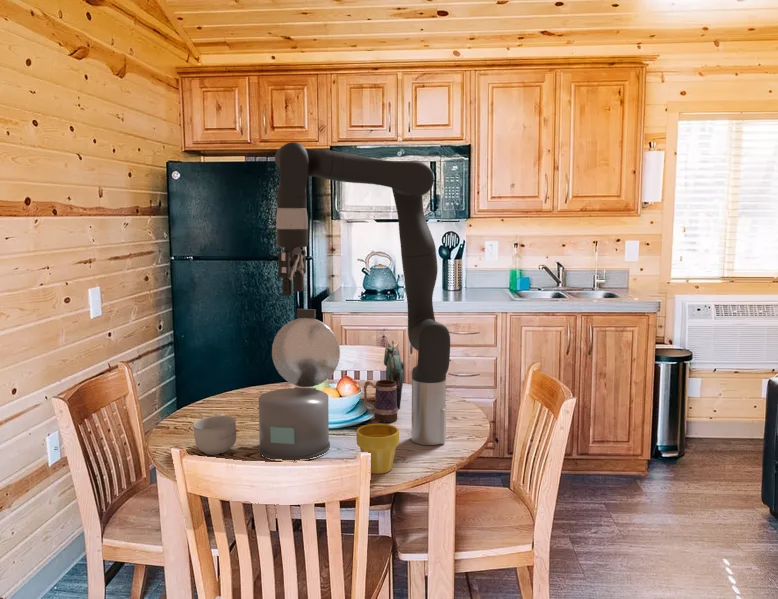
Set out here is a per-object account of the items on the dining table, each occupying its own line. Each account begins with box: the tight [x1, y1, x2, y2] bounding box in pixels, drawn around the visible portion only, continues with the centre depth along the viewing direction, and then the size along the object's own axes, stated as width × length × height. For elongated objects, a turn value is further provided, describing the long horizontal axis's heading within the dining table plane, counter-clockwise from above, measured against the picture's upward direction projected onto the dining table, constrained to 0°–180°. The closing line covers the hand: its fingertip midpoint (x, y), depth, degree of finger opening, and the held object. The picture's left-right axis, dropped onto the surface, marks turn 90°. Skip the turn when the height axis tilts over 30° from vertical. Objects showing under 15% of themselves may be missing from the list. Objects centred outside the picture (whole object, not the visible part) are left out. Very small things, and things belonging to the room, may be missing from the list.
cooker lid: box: [271, 308, 341, 388], centre depth 176 cm, size 19×21×3 cm
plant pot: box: [356, 423, 400, 475], centre depth 154 cm, size 10×10×10 cm
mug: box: [363, 379, 399, 424], centre depth 191 cm, size 10×7×12 cm
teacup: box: [192, 413, 237, 455], centre depth 167 cm, size 14×11×8 cm
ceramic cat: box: [383, 340, 405, 410], centre depth 210 cm, size 20×6×20 cm, turn 3°
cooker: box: [258, 386, 331, 461], centre depth 167 cm, size 19×20×14 cm
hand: (292, 293), depth 157 cm, fingers open, 8 cm apart
